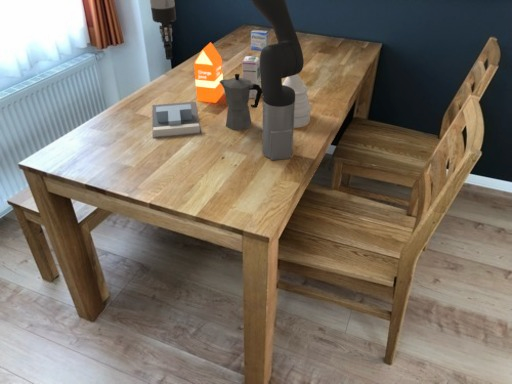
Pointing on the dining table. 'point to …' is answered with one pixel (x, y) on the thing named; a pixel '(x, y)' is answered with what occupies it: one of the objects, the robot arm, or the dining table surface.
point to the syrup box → (251, 72)
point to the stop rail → (176, 130)
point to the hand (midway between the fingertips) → (169, 58)
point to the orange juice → (208, 75)
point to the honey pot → (299, 100)
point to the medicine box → (259, 39)
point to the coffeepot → (239, 101)
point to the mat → (194, 120)
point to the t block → (174, 114)
